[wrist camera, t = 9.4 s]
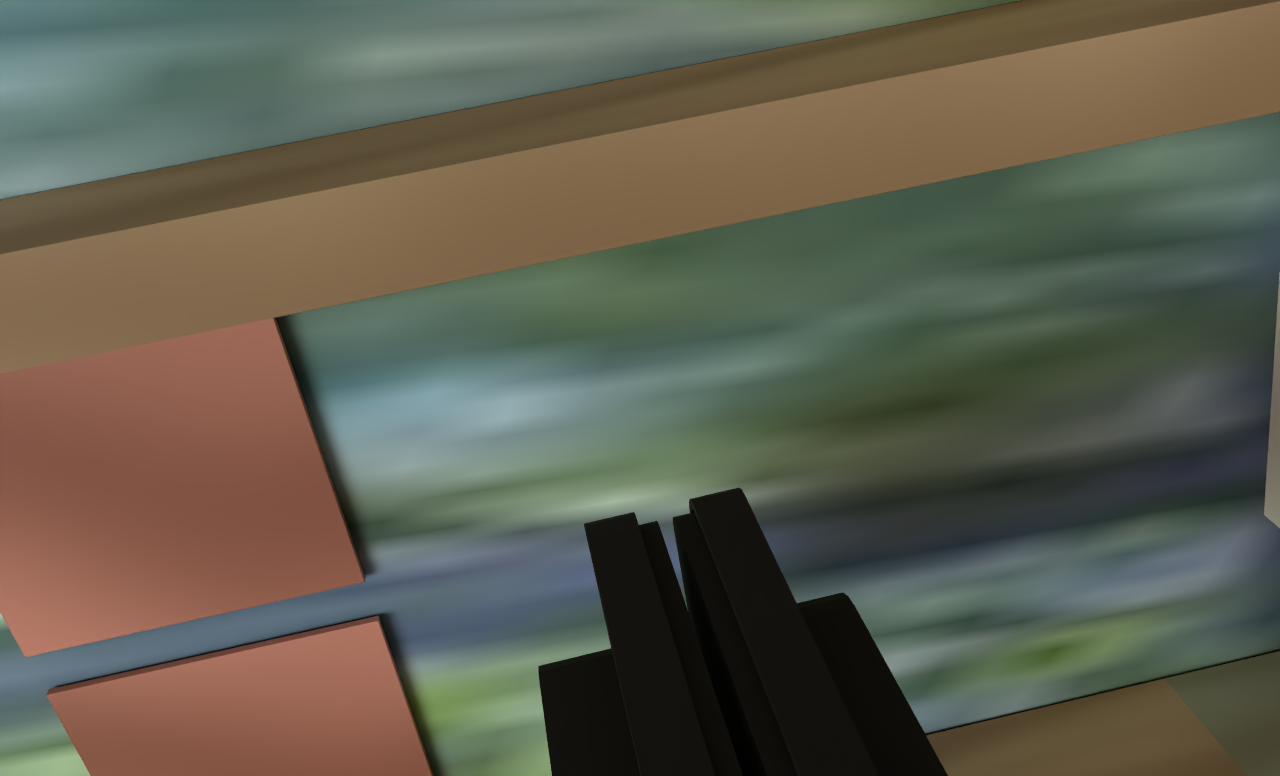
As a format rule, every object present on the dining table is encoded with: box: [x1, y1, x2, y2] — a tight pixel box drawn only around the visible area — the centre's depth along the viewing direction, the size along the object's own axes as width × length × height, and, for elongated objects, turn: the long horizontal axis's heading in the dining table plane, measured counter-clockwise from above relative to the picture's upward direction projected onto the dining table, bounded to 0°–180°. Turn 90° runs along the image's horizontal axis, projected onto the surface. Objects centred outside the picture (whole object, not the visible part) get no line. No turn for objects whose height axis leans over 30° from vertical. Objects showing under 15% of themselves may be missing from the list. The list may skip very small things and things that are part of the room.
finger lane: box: [0, 0, 1280, 776], centre depth 13 cm, size 11×23×2 cm, turn 99°
